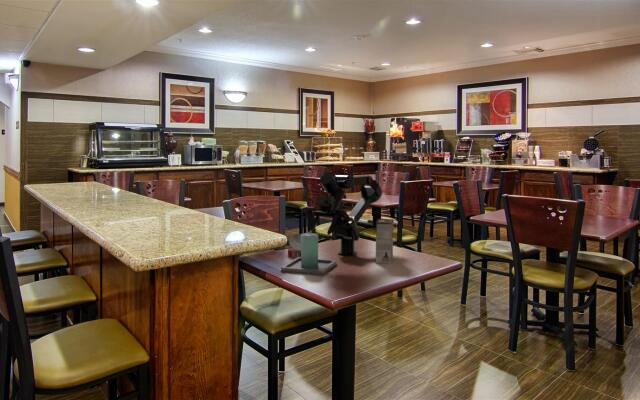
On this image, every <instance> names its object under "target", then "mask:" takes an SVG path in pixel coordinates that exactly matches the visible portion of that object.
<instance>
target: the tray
mask: <svg viewBox="0 0 640 400" xmlns="http://www.w3.org/2000/svg"><path fill="white" fill-rule="evenodd" d="M337 262H338V261H337V260H336V259H335V260H334V259H325V258H318V267H317V268H313V269H306V268H302V267H301V257H297V258H293V259H292V260H291V261H289V262H288V263H286V264H284V265H282V266H281V267H280V272H282V273H291V274H300V275H310V276H321V277H323V276H325V274H327V273H328V272H329V271H331V269H333V268H334V267H335V266H337Z"/></svg>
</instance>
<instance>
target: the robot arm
mask: <svg viewBox="0 0 640 400" xmlns="http://www.w3.org/2000/svg"><path fill="white" fill-rule="evenodd" d="M334 173H335V172H333V171H327V173H324V174H322V176H320V177H319V183H320V185H321V187H322V188H323V190H324V192H325V193H327V194H328V196H325V195H316V196H315V199H314V205H317V206H318V209H319V210H317V209H316V207H314V206H306V207H305V208H304V210H303V213H304V214H305V216H306V217H307V229H306V230H307V233H311V231H312V230H313V229H314V227H315V225H316V224H317V223H318V220H319V218H320V217H321V218H322V217H323V218H327V219H332V220H331V223H330V225H329V227H328V230H327V231H326V234H327V235H329V236H330V235H331V234H332V233H334V235H335V239H336V240H340V251H339V252H337V255H342V256H354V255H355V254H357V252H358V251H357V250H355V242H357V241H359V239H360V233H359V232H358V228H357V227H358V226H357V224H358V223H359V222H360V220H361V218H362V217H363V215H364V214H365V213H366V211H367V209H369V207H370V205H372V204H374V203H376V202H377V201H379V199H381V197H382V193H383V191H382V188H381V186H380V185H379V183H378V182H376V181H375V180H374V179H373V177H372V176H371V175H368V174H367V175H366V174H365V175H363V174H362V175H356V176H355V175H354V176H352V175H347V174H346V175H345V174H336V175H335V174H334ZM355 186H359V191H360V194H361V198H360V199H359V200H358V201H357V202H356V204H355V206H354V207H353V208H352V209H351V211H350V212H349V214H348V212H347V211H346V210H345V209H341V202H342V201H343V200H347V194H346V192H345V191H344V190H351V189H353V188H354V187H355Z"/></svg>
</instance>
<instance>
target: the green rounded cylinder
mask: <svg viewBox="0 0 640 400" xmlns="http://www.w3.org/2000/svg"><path fill="white" fill-rule="evenodd" d="M318 259H319V234H318V233H314V232H305V233H301V267H302V268H306V269H313V268H317V267H318Z"/></svg>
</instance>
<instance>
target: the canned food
mask: <svg viewBox="0 0 640 400" xmlns="http://www.w3.org/2000/svg"><path fill="white" fill-rule="evenodd" d="M301 234H302V233H301ZM301 234H300V233H296V234H293V235H291V236H290V237H289V239H288V243H289V245H290V247H288V248H287V257H288V258H290V259H292V258H293V259H296V258H297V257H301Z"/></svg>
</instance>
